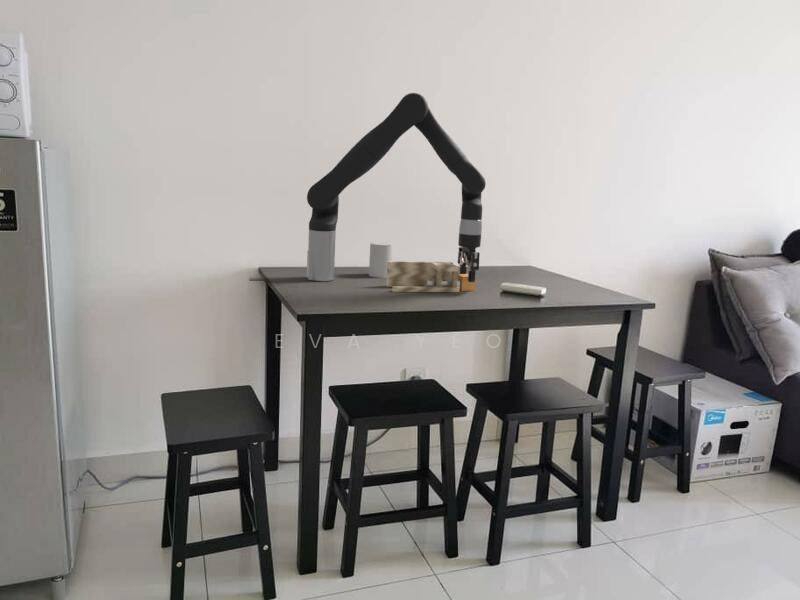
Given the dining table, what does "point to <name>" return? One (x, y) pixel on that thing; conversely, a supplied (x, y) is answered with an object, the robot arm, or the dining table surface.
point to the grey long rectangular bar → (444, 283)
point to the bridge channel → (421, 276)
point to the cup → (379, 259)
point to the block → (466, 283)
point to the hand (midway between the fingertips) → (466, 279)
